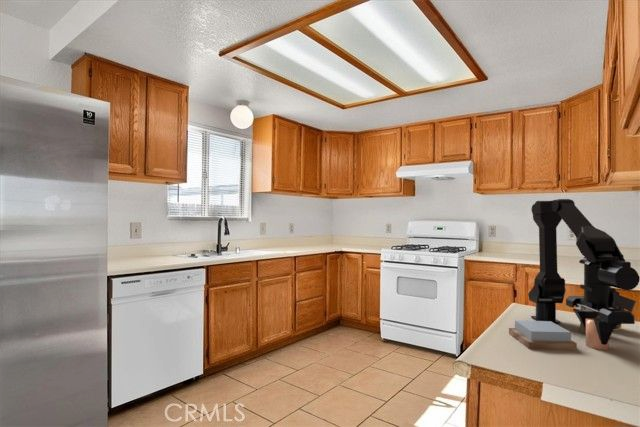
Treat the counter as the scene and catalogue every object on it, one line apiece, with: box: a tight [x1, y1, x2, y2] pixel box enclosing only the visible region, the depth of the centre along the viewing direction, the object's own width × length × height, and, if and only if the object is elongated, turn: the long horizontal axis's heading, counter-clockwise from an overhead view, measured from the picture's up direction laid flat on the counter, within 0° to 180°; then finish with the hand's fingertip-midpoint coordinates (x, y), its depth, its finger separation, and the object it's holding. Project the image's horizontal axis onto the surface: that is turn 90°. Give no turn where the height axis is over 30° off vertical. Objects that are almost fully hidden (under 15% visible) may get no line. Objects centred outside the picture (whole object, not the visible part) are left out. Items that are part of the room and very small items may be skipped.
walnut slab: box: [508, 327, 578, 351], centre depth 103 cm, size 12×12×2 cm
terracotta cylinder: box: [585, 318, 610, 351], centre depth 99 cm, size 5×5×7 cm
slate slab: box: [514, 320, 572, 342], centre depth 103 cm, size 10×10×2 cm
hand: (597, 340), depth 99 cm, fingers closed on terracotta cylinder, 5 cm apart
